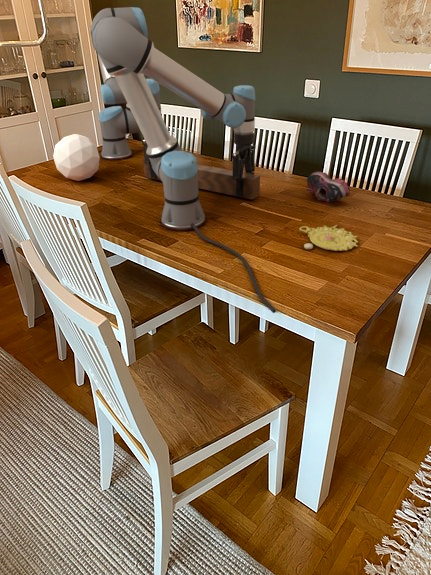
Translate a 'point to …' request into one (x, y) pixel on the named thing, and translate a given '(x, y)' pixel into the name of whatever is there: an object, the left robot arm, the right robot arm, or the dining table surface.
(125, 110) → the left robot arm
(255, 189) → the beam
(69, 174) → the sphere
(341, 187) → the athletic shoe
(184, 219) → the right robot arm
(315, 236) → the decorative object
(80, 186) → the dining table surface
